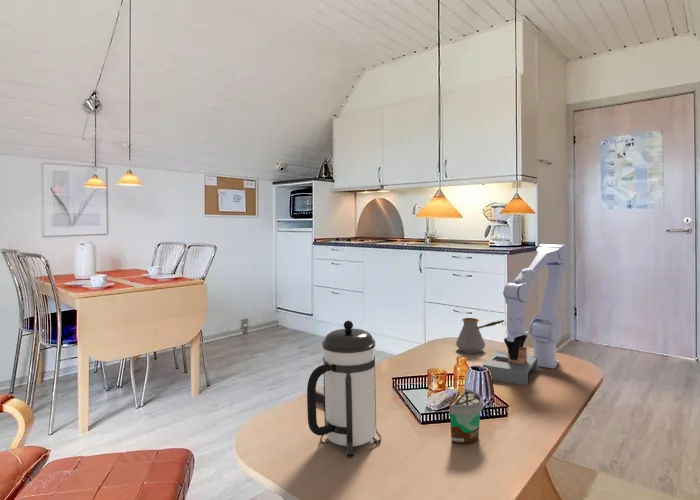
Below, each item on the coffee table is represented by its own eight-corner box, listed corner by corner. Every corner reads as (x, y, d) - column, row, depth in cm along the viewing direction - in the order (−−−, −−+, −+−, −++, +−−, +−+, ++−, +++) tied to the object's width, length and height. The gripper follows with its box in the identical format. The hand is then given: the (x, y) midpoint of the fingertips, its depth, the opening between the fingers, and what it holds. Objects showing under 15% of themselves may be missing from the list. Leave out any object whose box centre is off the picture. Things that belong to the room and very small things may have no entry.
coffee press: (321, 426, 118) (318, 314, 116) (382, 428, 116) (380, 314, 114) (308, 462, 101) (304, 330, 99) (379, 465, 99) (377, 331, 97)
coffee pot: (450, 350, 184) (449, 314, 183) (467, 345, 191) (467, 310, 190) (496, 362, 167) (496, 322, 166) (513, 356, 174) (513, 318, 173)
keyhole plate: (497, 363, 167) (497, 351, 166) (537, 369, 159) (537, 356, 159) (482, 377, 152) (482, 364, 151) (526, 385, 144) (526, 371, 144)
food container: (475, 452, 104) (475, 410, 103) (449, 446, 107) (449, 405, 106) (489, 430, 114) (489, 392, 113) (465, 425, 117) (465, 388, 117)
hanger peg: (511, 366, 158) (511, 345, 157) (526, 368, 155) (526, 347, 154) (507, 370, 153) (507, 348, 153) (523, 372, 151) (523, 351, 150)
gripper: (523, 323, 145) (523, 365, 146) (532, 315, 157) (532, 353, 158) (500, 321, 149) (500, 361, 150) (512, 313, 161) (511, 350, 162)
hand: (515, 357), depth 154 cm, fingers closed on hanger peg, 5 cm apart
